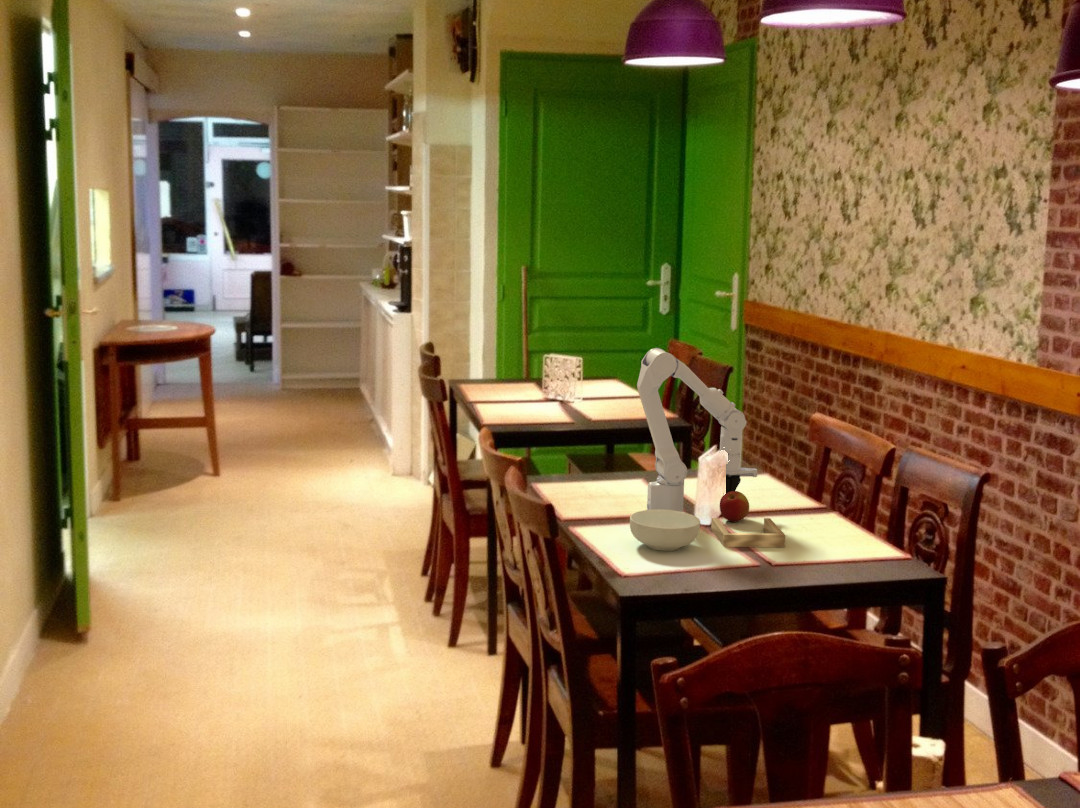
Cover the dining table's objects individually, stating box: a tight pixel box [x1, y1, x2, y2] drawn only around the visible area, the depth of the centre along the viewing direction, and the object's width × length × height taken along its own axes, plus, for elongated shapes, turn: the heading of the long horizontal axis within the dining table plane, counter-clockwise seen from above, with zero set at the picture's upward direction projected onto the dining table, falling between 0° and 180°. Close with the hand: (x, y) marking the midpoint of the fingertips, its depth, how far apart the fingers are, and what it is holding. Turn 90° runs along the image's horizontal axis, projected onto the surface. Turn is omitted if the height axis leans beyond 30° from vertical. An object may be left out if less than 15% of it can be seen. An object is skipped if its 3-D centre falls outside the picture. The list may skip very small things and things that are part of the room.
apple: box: [719, 490, 750, 523], centre depth 330 cm, size 8×8×8 cm
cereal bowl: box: [629, 509, 701, 552], centre depth 306 cm, size 17×17×7 cm
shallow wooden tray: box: [710, 517, 786, 548], centre depth 315 cm, size 15×16×3 cm
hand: (727, 502), depth 338 cm, fingers closed
